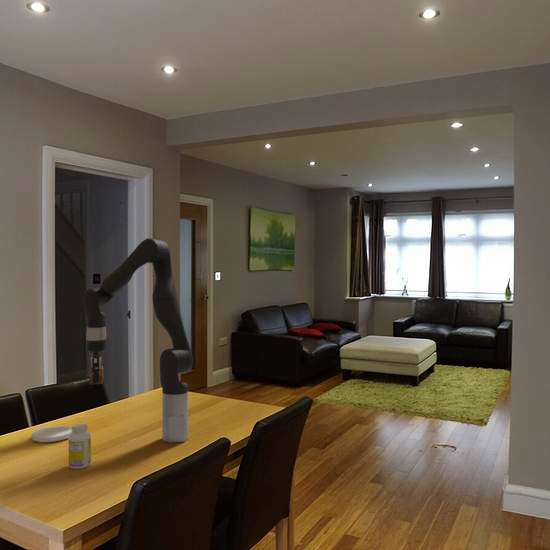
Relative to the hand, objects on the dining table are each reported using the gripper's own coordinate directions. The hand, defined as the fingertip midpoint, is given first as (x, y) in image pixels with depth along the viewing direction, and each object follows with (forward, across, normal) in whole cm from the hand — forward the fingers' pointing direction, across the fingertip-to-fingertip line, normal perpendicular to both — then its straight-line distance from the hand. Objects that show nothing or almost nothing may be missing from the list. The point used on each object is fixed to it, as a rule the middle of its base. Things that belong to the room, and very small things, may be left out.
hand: (96, 381), depth 212 cm
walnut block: (+1, 0, 0) cm, 1 cm away
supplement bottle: (+18, -44, +3) cm, 47 cm away
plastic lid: (+18, -12, +15) cm, 26 cm away
